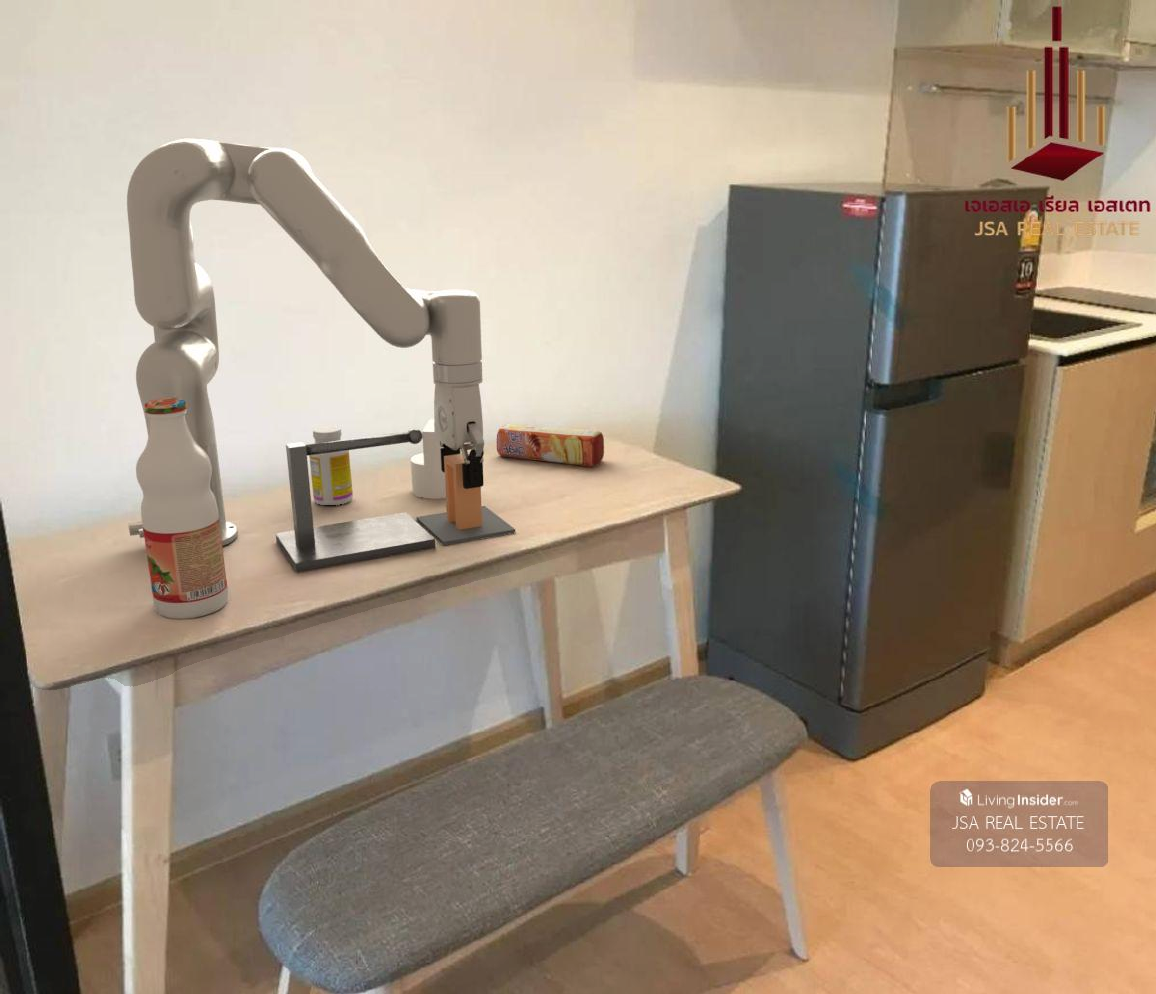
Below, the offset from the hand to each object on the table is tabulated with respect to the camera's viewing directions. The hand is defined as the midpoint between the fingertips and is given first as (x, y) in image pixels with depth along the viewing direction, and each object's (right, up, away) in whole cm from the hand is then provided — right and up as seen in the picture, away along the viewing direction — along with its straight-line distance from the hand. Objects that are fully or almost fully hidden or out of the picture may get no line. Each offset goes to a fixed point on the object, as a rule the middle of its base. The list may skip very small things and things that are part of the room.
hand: (462, 478), depth 168 cm
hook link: (0, -7, +2) cm, 7 cm away
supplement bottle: (-24, -4, +16) cm, 29 cm away
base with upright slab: (-7, -2, +21) cm, 22 cm away
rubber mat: (0, -8, +3) cm, 8 cm away
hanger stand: (-15, -10, -5) cm, 19 cm away
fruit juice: (-33, -18, -26) cm, 46 cm away
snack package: (+13, +4, +39) cm, 41 cm away
